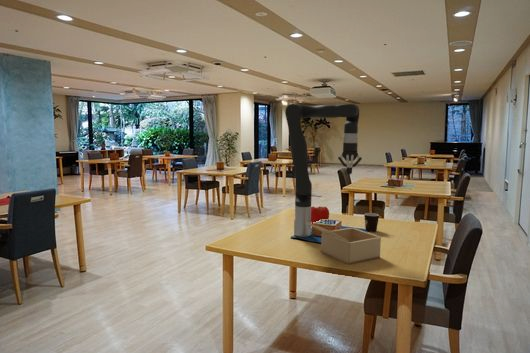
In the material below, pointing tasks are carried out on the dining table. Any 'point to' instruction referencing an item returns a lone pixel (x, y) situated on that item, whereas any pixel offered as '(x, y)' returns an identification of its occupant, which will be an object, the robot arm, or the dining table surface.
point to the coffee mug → (371, 222)
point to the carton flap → (327, 231)
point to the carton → (351, 245)
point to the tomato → (319, 213)
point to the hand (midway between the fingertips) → (349, 174)
